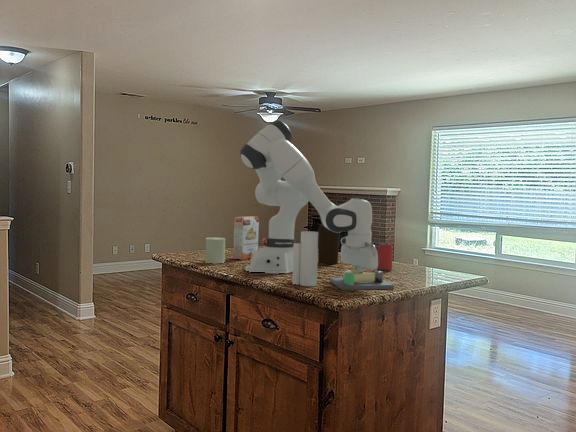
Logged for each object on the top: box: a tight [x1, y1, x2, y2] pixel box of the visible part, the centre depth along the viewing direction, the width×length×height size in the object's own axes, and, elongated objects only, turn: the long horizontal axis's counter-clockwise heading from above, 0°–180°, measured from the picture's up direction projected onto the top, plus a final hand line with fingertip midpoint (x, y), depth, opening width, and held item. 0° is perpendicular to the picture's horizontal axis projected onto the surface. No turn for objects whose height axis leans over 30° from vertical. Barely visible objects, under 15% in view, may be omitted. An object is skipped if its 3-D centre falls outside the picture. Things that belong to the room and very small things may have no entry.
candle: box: [291, 230, 318, 287], centre depth 205 cm, size 11×7×20 cm, turn 50°
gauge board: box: [329, 269, 395, 291], centre depth 206 cm, size 20×16×6 cm
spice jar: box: [351, 270, 384, 282], centre depth 204 cm, size 13×4×4 cm, turn 110°
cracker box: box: [232, 215, 260, 261], centre depth 268 cm, size 14×6×21 cm, turn 150°
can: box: [204, 236, 226, 264], centre depth 252 cm, size 9×9×12 cm
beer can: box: [377, 242, 394, 272], centre depth 245 cm, size 7×7×12 cm
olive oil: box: [317, 223, 341, 266], centre depth 260 cm, size 11×11×25 cm
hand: (358, 277), depth 205 cm, fingers closed
